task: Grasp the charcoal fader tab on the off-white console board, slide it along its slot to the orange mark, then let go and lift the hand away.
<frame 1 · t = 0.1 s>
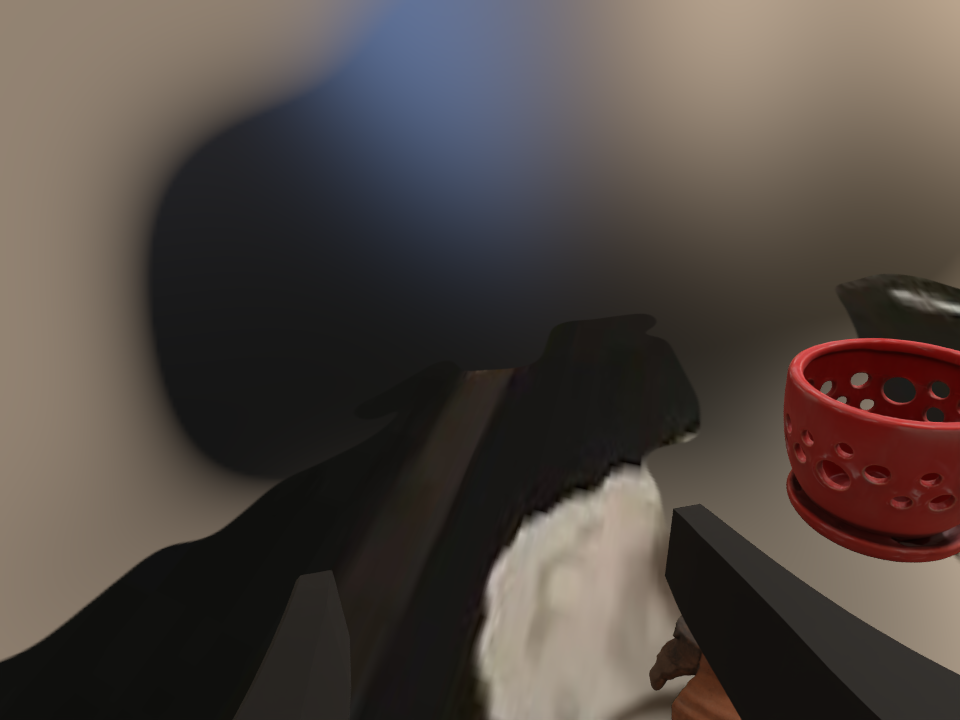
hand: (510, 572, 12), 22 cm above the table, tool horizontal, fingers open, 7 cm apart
plant pot: (864, 519, 44), on the table
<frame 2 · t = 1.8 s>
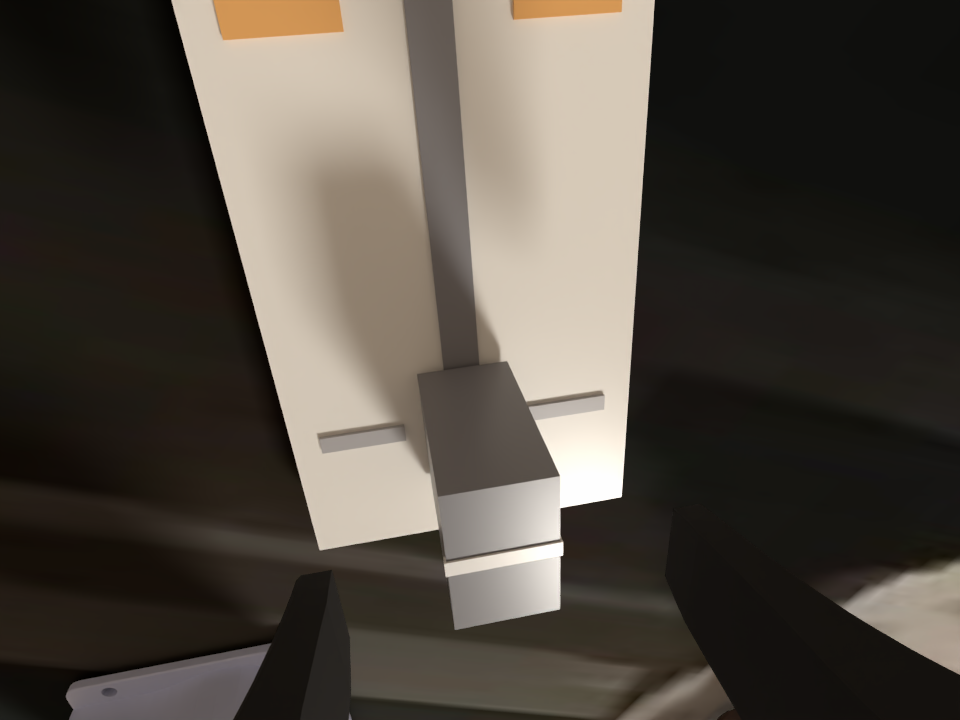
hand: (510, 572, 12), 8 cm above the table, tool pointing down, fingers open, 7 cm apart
fader tab: (483, 483, 15), point 5 cm above the table, slide at 1.0 cm
console board: (434, 163, 16), on the table
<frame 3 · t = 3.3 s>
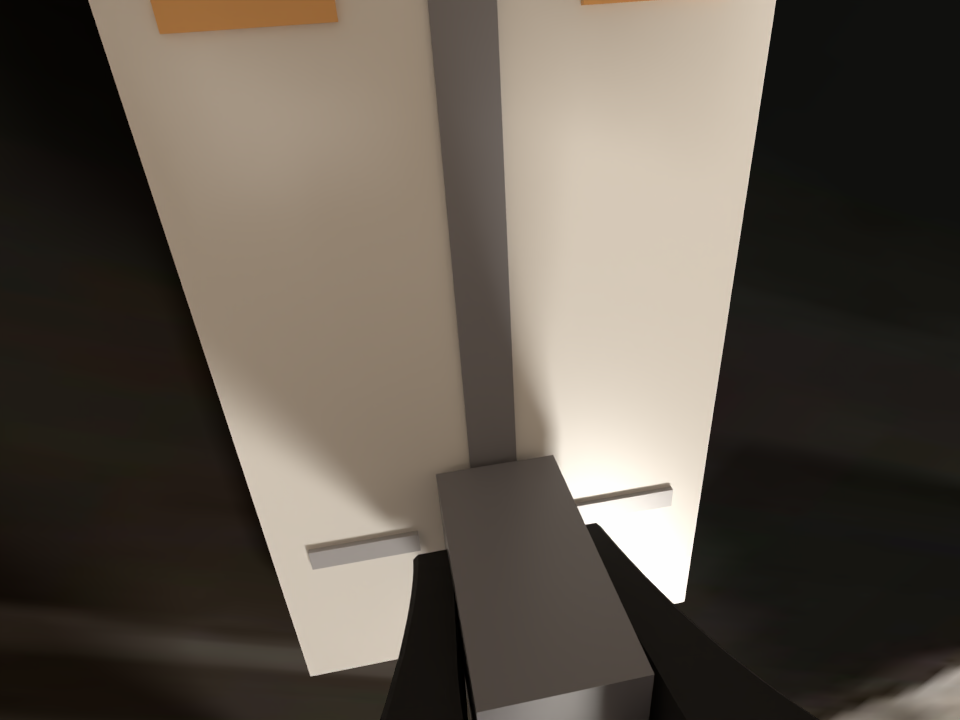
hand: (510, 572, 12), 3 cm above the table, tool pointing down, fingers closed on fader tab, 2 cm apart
fader tab: (526, 631, 11), point 5 cm above the table, slide at 1.0 cm, touching gripper
console board: (460, 198, 12), on the table
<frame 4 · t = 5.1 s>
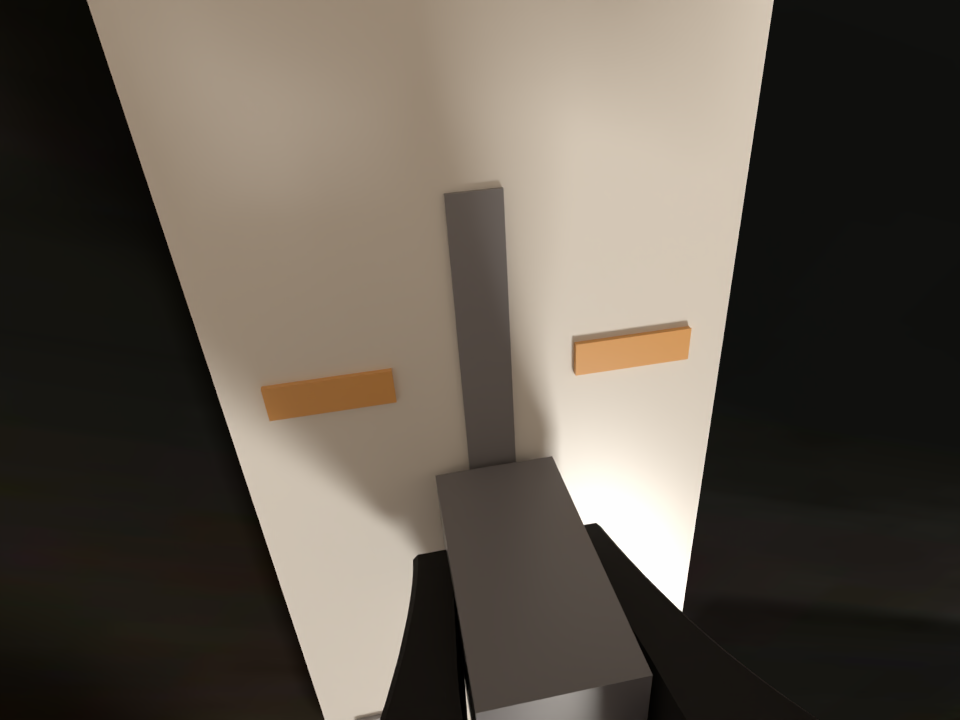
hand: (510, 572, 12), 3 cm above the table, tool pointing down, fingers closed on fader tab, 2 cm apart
fader tab: (526, 632, 11), point 5 cm above the table, slide at 7.4 cm, touching gripper
console board: (479, 451, 15), on the table
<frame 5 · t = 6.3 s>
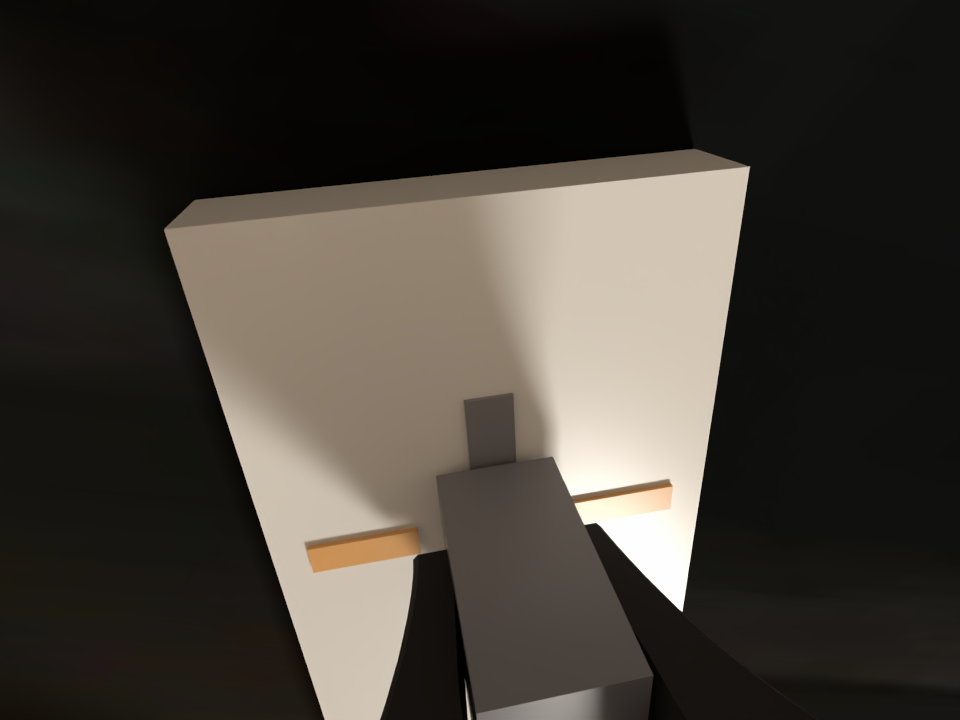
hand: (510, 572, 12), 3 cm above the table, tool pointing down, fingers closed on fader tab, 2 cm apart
fader tab: (526, 632, 11), point 5 cm above the table, slide at 11.5 cm, touching gripper
console board: (489, 565, 17), on the table
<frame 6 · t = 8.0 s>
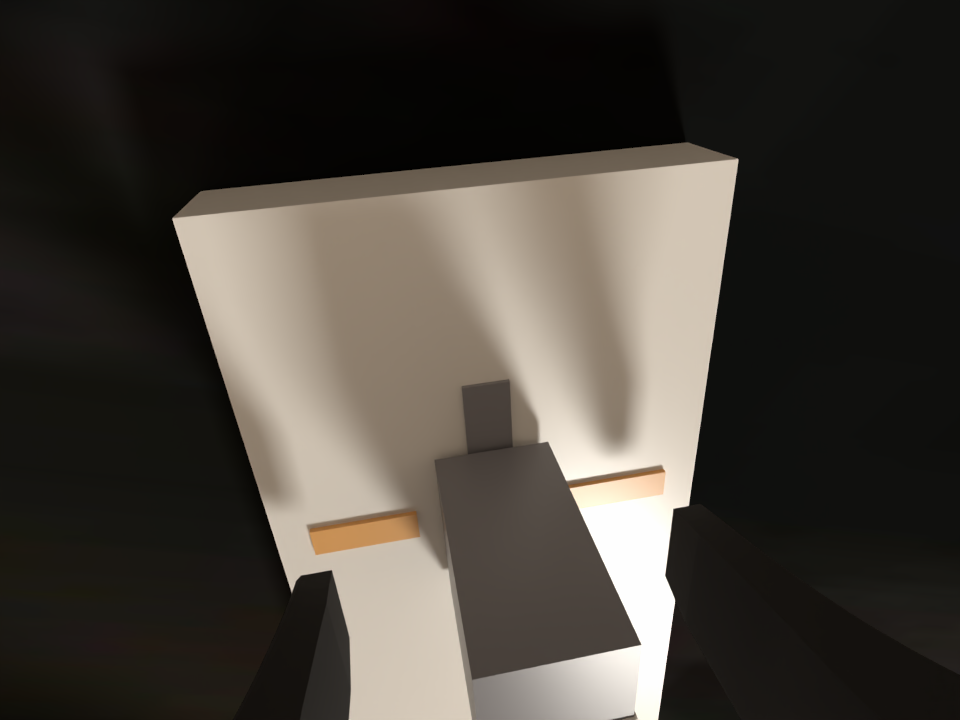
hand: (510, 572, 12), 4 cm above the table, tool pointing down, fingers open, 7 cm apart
fader tab: (521, 610, 12), point 5 cm above the table, slide at 11.5 cm
console board: (487, 551, 17), on the table
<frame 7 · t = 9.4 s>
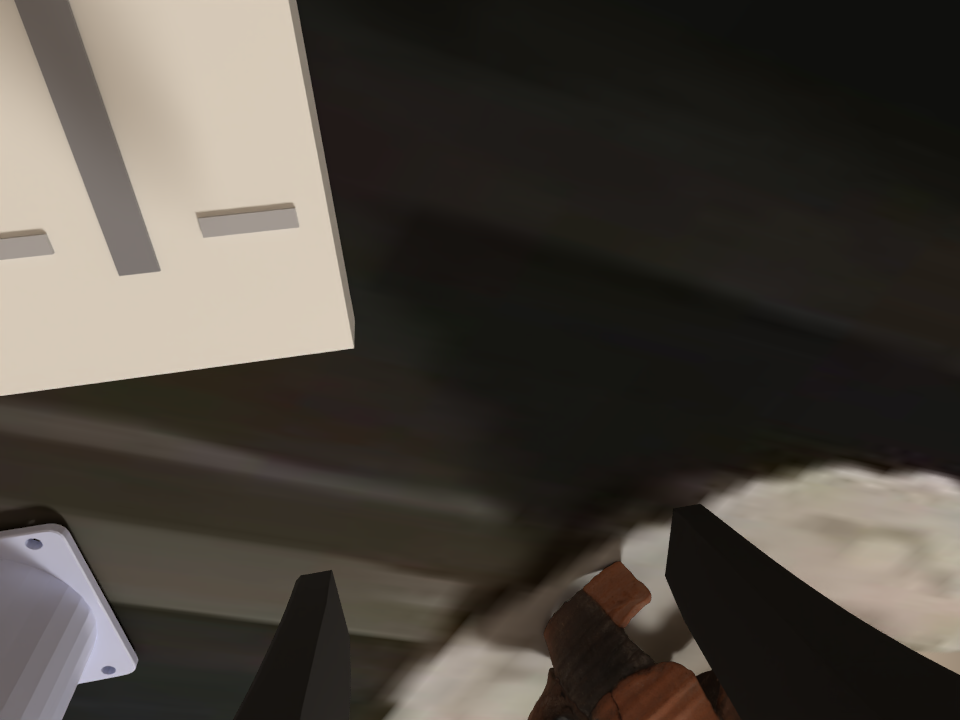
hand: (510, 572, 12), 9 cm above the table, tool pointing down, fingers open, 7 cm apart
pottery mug: (612, 629, 30), on the table
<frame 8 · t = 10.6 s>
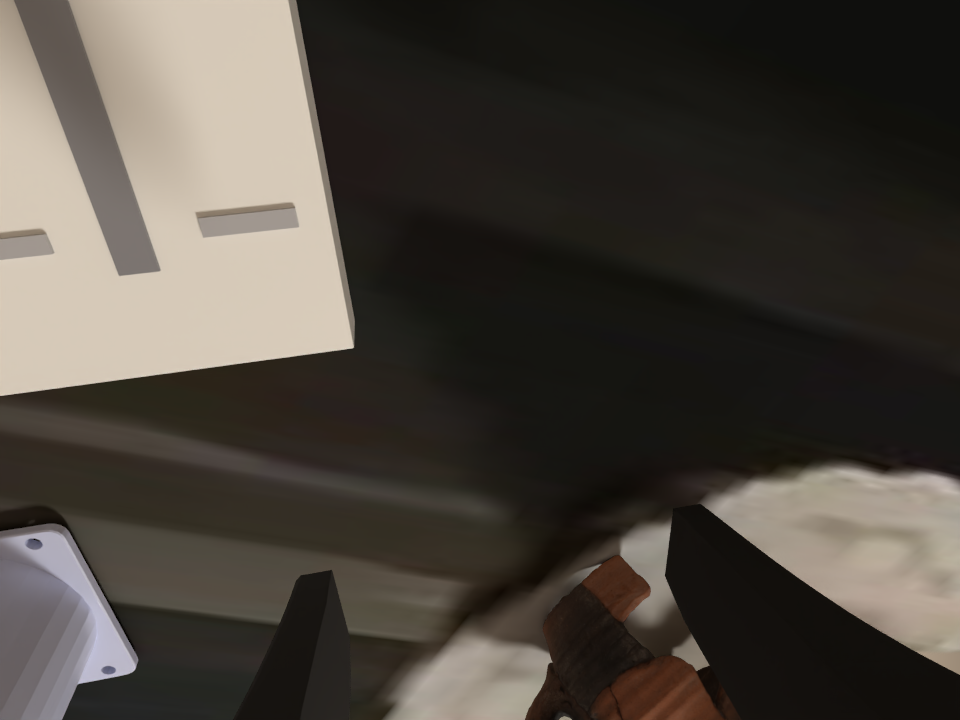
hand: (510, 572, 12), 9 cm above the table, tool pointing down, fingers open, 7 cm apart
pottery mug: (612, 624, 30), on the table
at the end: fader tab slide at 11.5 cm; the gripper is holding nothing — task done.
